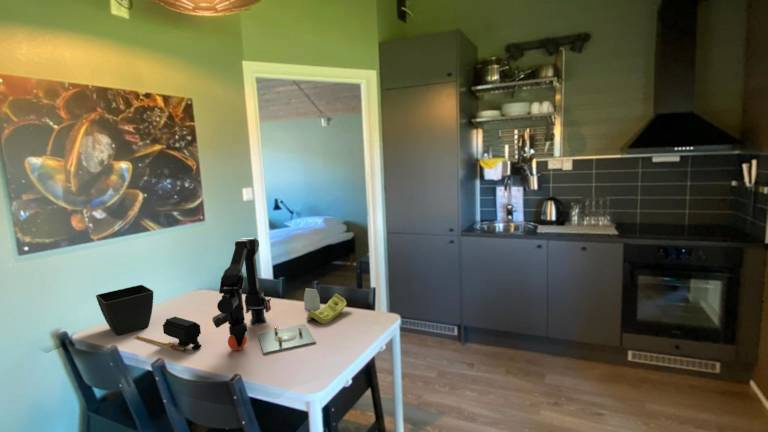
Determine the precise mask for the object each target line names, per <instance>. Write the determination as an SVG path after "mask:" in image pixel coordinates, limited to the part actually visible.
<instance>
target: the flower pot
mask: <svg viewBox="0 0 768 432" xmlns="http://www.w3.org/2000/svg"><path fill="white" fill-rule="evenodd" d="M95 297H96V301H97V303H98V306H99V308H100V312H101V314H102V316H103V318H104V320H105V322H106V324H107V325H108V327H109V329H110V330H111V331H112V332H113V334H115V335H116V336H120V335H124V334H127V333H130V332H131V333H132V332H134V331H138V330H139V331H140V330H142V329H145V328H148V327H149V326H150V324H151V323H150V321H151V318H152V313H153V306H154V290H153V289H150V288H149V287H147V286H145V285H144V284H139V285H134V286H133V285H132V286H129V287H125V288H121V289H116V290H112V291H107V292H103V293H99V294H95Z"/></svg>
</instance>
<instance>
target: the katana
mask: <svg viewBox="0 0 768 432" xmlns="http://www.w3.org/2000/svg"><path fill="white" fill-rule="evenodd" d="M134 336H135V338H137V339H139V340H142V341H146V342H148V343H152V344H156V345H159V346H162V347H164V348H168V349H171V350H179V351H184V352H186V351H187V348H186V347H183V346H179V345H178V346H177V345H175V343H174V342H167V343H165V342H162V341H158V340H154V339H150V338H148V337H147V338H146V337H143V336H140V335H138V334H134Z"/></svg>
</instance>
